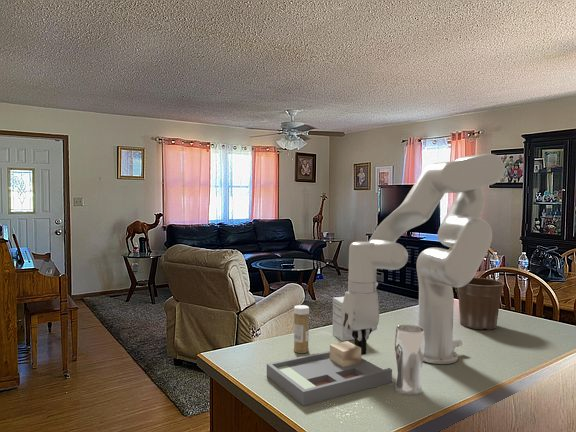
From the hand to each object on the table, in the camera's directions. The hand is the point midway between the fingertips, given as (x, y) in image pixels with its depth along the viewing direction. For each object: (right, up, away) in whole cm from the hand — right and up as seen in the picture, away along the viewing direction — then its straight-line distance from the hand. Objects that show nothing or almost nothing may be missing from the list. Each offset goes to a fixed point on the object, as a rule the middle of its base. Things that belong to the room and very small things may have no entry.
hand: (360, 353), depth 119 cm
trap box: (-10, -4, -9) cm, 14 cm away
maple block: (-4, -1, -3) cm, 5 cm away
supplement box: (-1, -2, +23) cm, 23 cm away
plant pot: (+49, -2, +37) cm, 62 cm away
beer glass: (+9, -4, -15) cm, 18 cm away
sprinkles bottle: (-16, -3, +10) cm, 19 cm away
